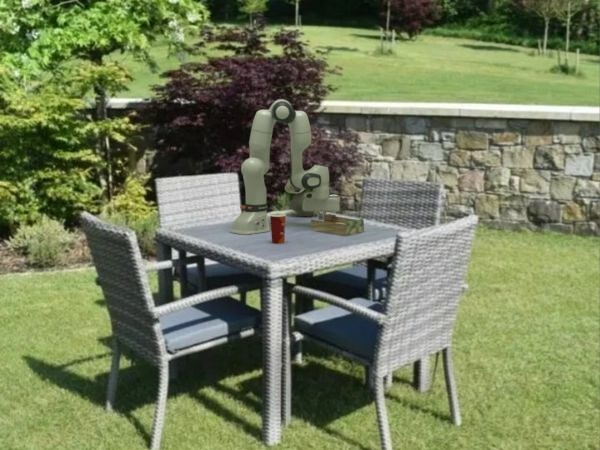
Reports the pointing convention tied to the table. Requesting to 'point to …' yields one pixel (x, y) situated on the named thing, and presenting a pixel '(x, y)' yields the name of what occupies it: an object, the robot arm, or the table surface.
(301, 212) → the flower arrangement
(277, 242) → the coffee cup
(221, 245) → the table surface
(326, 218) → the walnut block
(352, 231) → the trap track
